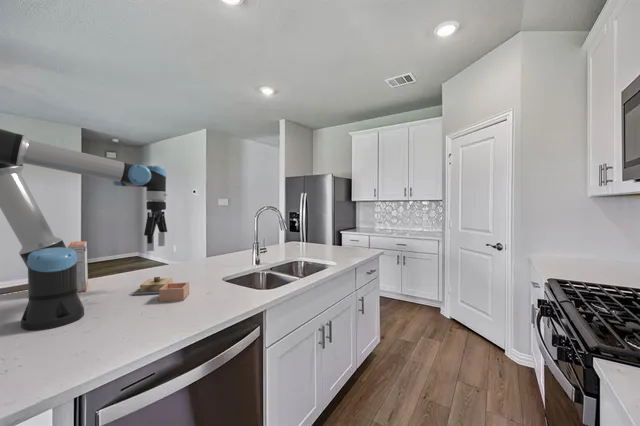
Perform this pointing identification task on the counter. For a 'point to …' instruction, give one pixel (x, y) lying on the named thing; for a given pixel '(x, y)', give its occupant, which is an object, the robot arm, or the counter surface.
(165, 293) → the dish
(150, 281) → the lid
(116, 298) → the counter surface
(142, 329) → the counter surface
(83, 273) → the cracker box
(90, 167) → the robot arm
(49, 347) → the counter surface
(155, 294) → the plate
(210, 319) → the counter surface
